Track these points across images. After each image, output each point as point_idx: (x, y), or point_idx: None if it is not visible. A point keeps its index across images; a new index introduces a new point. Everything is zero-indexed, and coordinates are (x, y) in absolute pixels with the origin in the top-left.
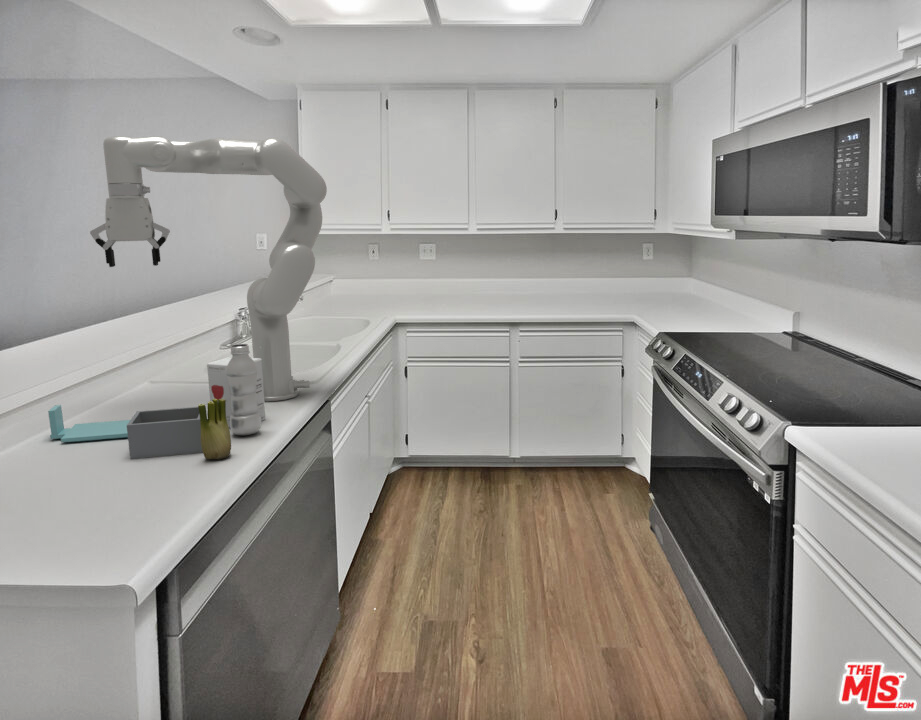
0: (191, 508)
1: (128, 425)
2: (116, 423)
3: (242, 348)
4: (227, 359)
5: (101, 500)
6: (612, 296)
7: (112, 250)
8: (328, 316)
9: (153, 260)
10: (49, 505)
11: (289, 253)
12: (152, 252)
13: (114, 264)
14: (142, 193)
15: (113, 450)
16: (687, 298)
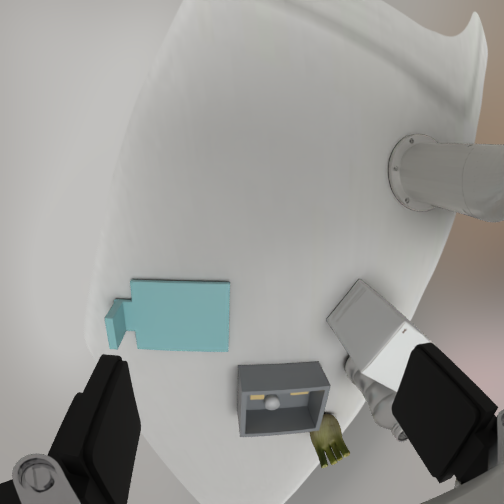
0: (293, 483)
1: (242, 436)
2: (192, 298)
3: (406, 438)
4: (395, 350)
5: (232, 471)
6: None
7: (107, 485)
8: None
9: (406, 428)
10: (197, 471)
11: None
12: (428, 464)
13: (128, 384)
14: None
15: (211, 382)
16: None
